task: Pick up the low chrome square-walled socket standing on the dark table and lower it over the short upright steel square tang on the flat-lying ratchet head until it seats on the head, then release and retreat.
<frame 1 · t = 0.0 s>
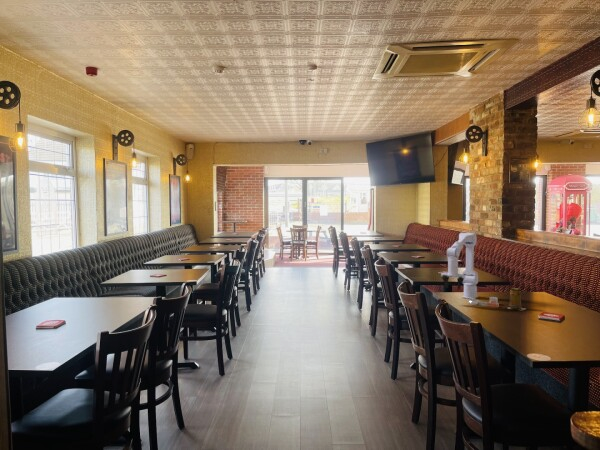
hand: (452, 288, 269), 10 cm above the table, fingers open, 7 cm apart
condiment: (516, 309, 258), on the table
socket: (493, 304, 270), on the table
ratchet: (473, 303, 272), on the table
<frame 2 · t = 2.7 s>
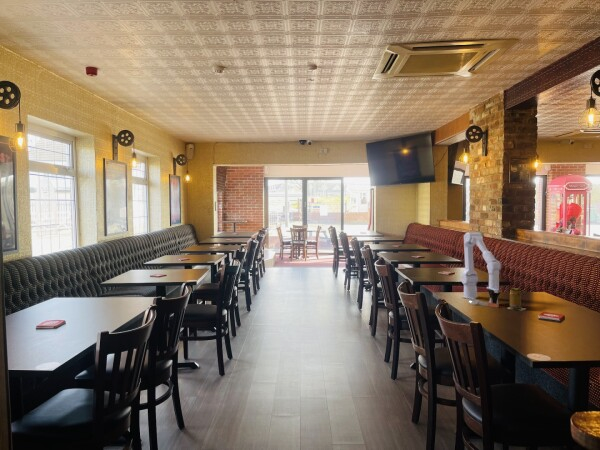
hand: (493, 302, 270), 1 cm above the table, fingers closed on socket, 4 cm apart
socket: (493, 304, 270), on the table, touching gripper
everything else where it was.
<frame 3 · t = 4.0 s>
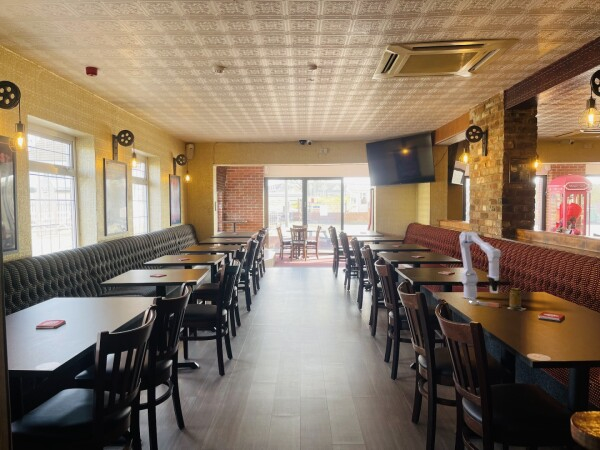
hand: (493, 290, 269), 9 cm above the table, fingers closed on socket, 4 cm apart
socket: (493, 292, 269), point 7 cm above the table, touching gripper
everything else where it was.
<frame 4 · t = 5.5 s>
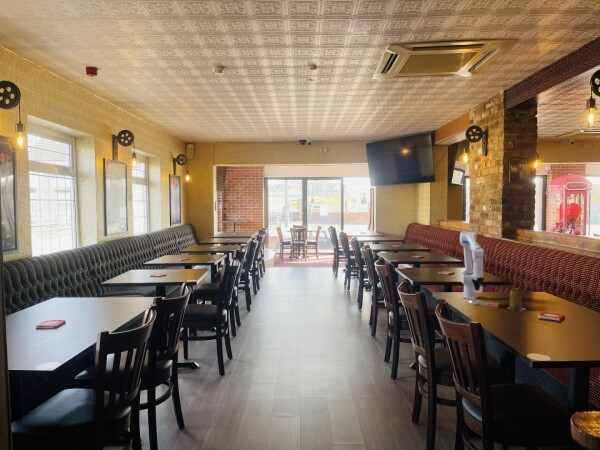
hand: (477, 289, 271), 9 cm above the table, fingers closed on socket, 4 cm apart
socket: (478, 292, 271), point 7 cm above the table, touching gripper
everything else where it was.
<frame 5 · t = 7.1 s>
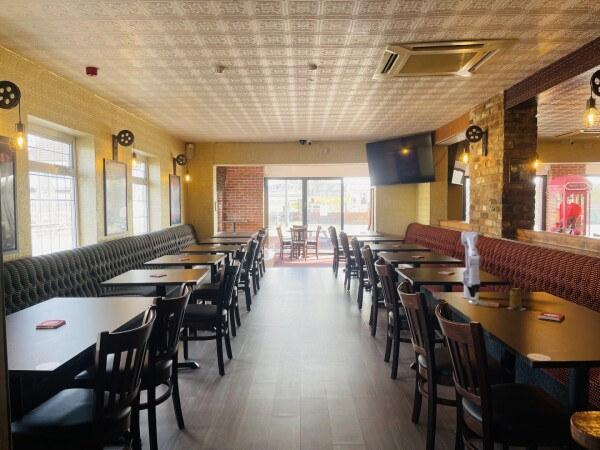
hand: (473, 296, 272), 5 cm above the table, fingers closed on socket, 4 cm apart
socket: (473, 298, 272), point 3 cm above the table, touching gripper
everything else where it was.
when the fingers open (4 cm above the table, at t = 8.4 s): socket stays where it is, resting on ratchet.
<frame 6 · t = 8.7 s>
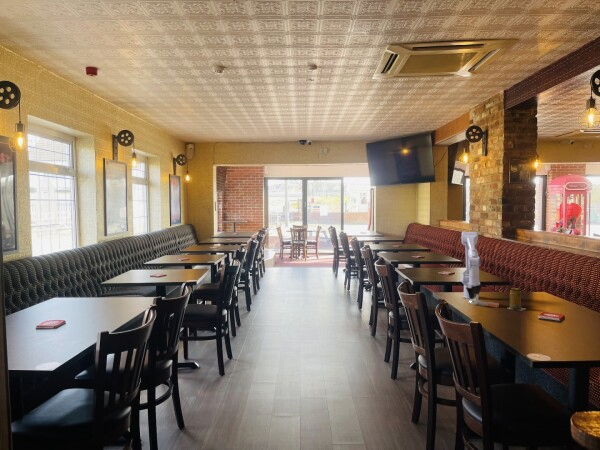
hand: (473, 297, 272), 4 cm above the table, fingers open, 7 cm apart
socket: (473, 300, 272), point 2 cm above the table, touching ratchet
everything else where it was.
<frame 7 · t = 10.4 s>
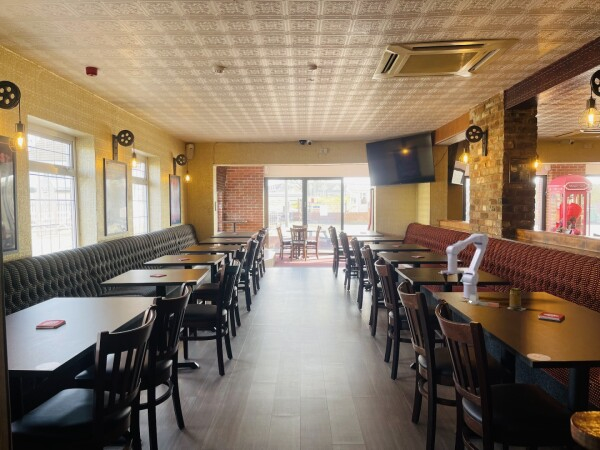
hand: (452, 284, 284), 10 cm above the table, fingers open, 7 cm apart
nothing on the table moved.
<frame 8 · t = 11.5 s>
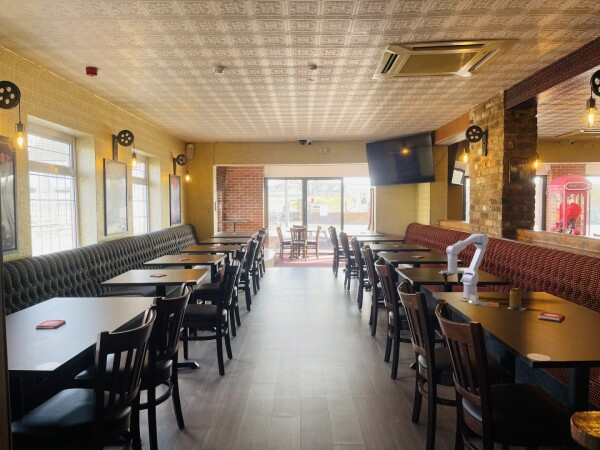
hand: (452, 284, 284), 10 cm above the table, fingers open, 7 cm apart
nothing on the table moved.
at the end: socket 0.0 cm off-centre on the ratchet, point 2.0 cm above the ratchet's base; socket tilted 0°; the gripper is holding nothing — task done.
